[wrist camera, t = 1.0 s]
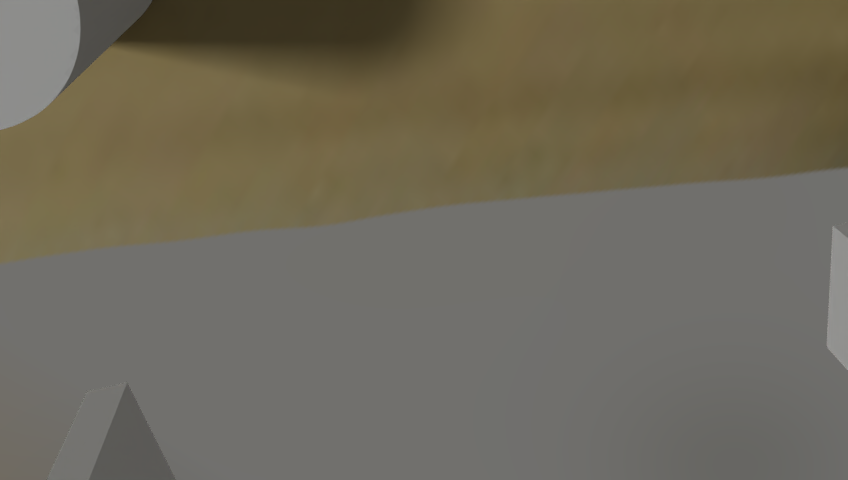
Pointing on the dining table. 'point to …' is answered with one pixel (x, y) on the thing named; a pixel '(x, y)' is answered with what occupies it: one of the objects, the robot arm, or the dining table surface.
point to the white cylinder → (53, 47)
